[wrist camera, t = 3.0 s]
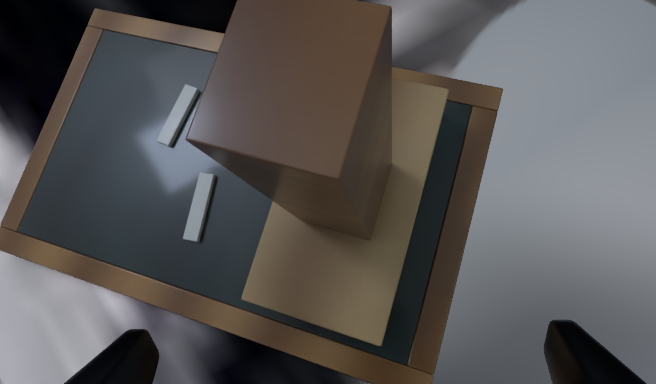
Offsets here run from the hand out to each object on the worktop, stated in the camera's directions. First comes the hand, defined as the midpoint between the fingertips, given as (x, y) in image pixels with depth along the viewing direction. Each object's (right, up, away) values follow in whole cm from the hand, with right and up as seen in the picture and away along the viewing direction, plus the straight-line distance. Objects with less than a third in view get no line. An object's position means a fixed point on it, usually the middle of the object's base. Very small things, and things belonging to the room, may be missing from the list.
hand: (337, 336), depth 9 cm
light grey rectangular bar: (-8, +7, +13) cm, 17 cm away
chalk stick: (-7, +2, +12) cm, 14 cm away
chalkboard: (-5, +4, +13) cm, 15 cm away
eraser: (+1, +3, +11) cm, 11 cm away
